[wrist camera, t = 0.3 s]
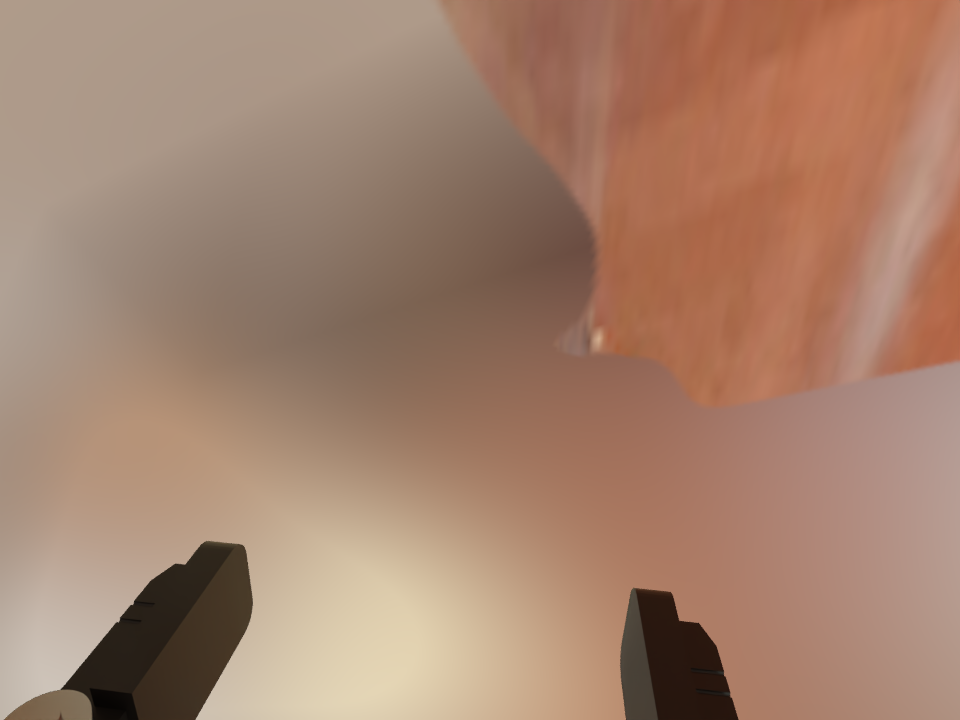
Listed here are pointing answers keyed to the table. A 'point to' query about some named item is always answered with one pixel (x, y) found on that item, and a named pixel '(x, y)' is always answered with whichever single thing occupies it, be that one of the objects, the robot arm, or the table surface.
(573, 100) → the table surface
